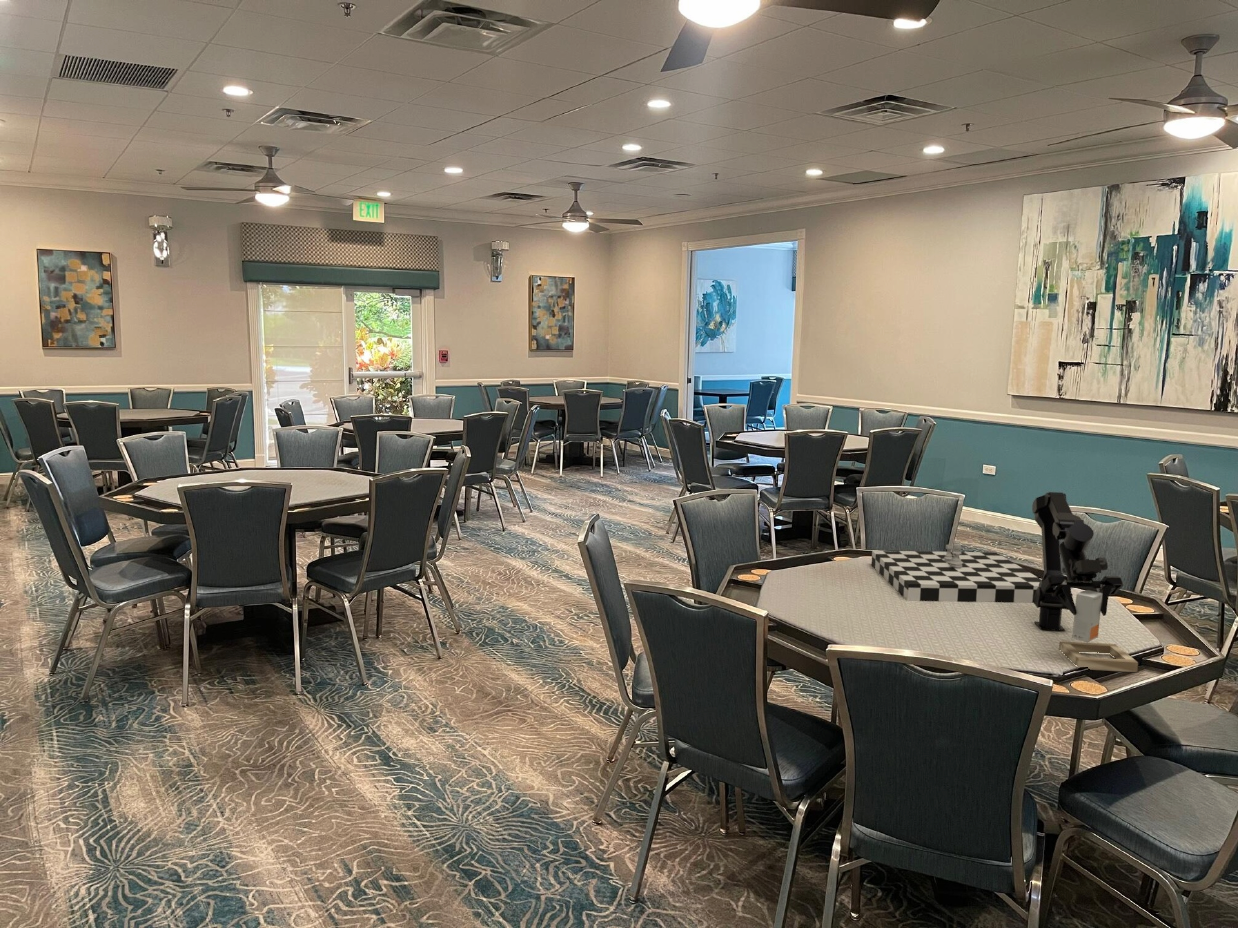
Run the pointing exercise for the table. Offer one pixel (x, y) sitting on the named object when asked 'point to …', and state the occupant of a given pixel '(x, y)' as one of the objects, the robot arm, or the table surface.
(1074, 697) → the table surface
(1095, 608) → the skincare box
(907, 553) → the checkerboard
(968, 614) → the table surface
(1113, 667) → the wooden picture frame
